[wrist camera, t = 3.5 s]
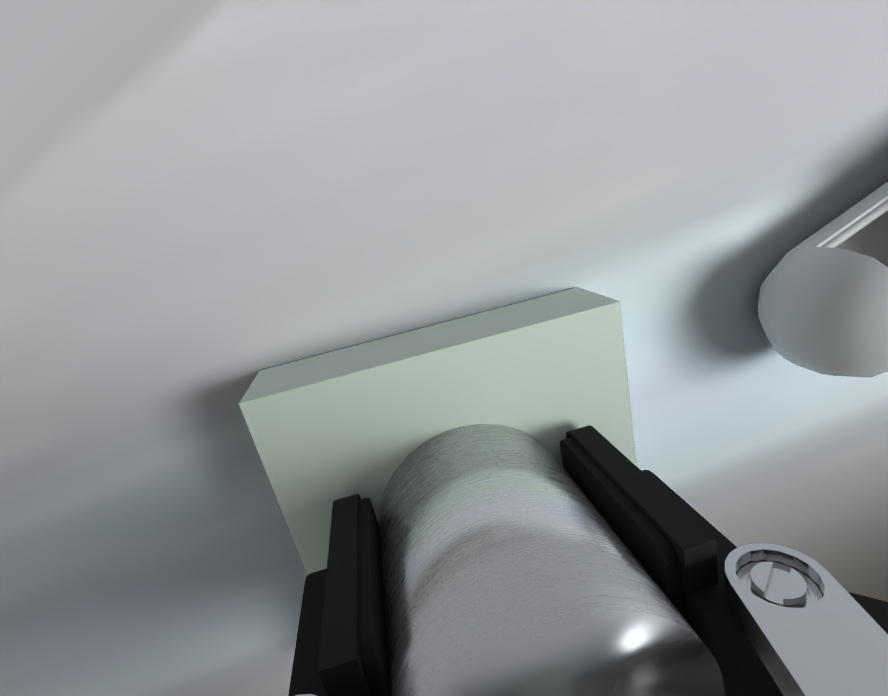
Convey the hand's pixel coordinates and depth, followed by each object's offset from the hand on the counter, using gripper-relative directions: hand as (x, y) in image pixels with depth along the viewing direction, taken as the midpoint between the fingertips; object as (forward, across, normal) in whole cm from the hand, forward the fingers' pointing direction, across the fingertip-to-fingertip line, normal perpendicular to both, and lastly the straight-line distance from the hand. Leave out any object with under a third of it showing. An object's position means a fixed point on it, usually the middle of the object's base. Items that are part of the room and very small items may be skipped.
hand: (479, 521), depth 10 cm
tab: (+2, 0, 0) cm, 2 cm away
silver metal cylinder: (0, 0, 0) cm, 0 cm away
